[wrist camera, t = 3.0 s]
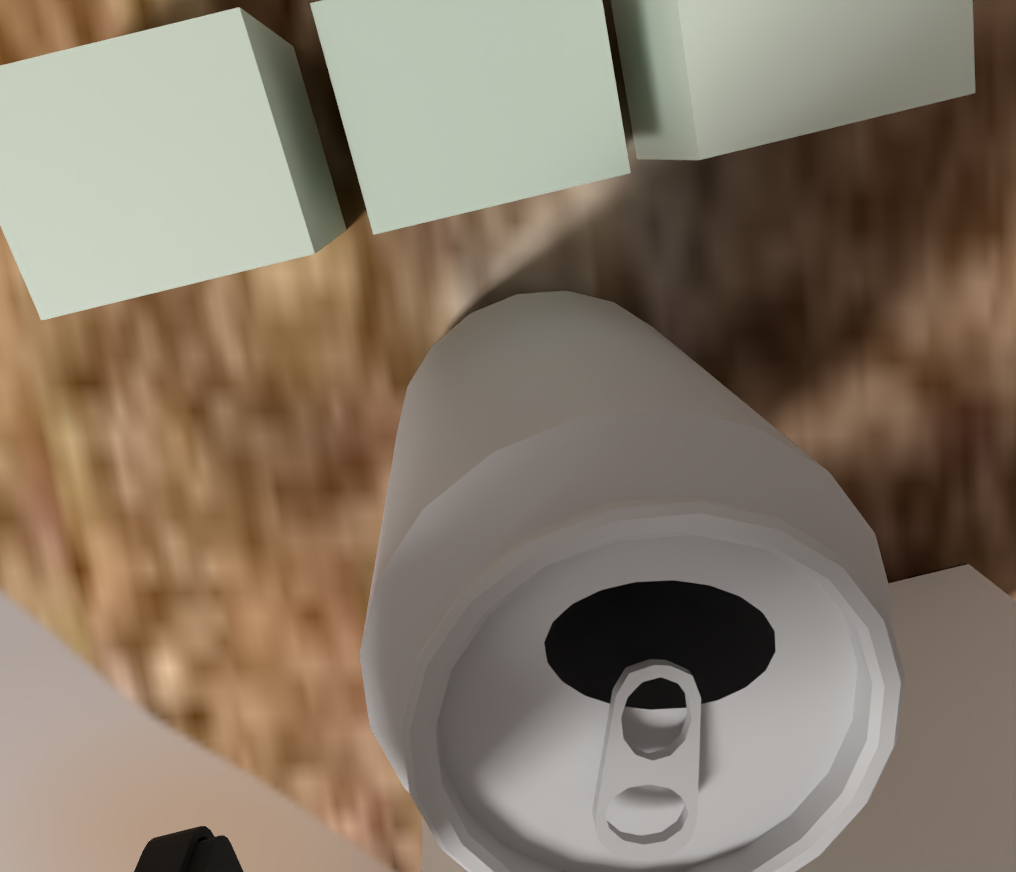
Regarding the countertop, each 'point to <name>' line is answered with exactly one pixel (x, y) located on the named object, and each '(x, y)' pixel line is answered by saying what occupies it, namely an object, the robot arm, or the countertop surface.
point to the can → (619, 609)
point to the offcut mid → (471, 101)
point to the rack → (931, 740)
